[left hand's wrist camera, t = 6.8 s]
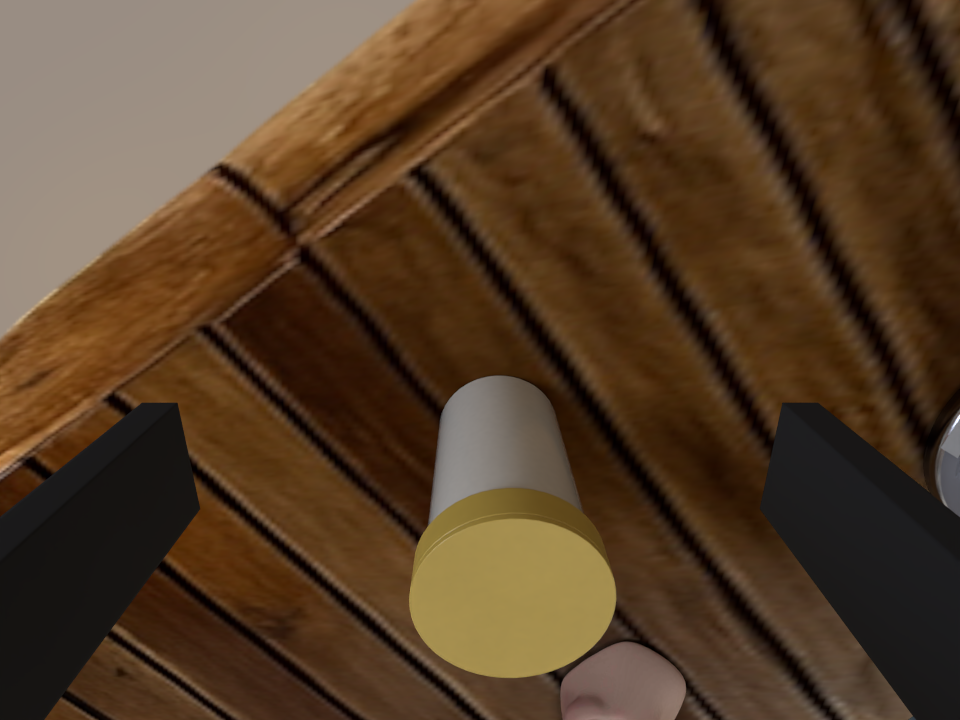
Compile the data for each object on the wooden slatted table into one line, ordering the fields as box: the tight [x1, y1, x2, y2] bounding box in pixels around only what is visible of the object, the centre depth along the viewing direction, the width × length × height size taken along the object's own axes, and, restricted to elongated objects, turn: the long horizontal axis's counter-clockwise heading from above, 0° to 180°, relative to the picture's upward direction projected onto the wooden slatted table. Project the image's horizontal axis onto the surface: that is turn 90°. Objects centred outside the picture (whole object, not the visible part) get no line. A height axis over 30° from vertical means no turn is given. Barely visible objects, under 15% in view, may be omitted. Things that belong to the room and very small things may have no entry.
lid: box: [409, 488, 616, 678], centre depth 26 cm, size 9×9×2 cm
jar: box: [428, 376, 584, 526], centre depth 33 cm, size 8×8×15 cm
